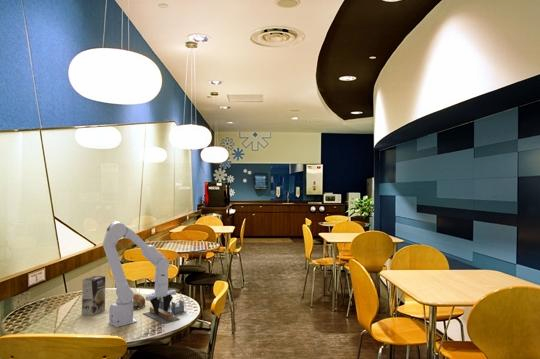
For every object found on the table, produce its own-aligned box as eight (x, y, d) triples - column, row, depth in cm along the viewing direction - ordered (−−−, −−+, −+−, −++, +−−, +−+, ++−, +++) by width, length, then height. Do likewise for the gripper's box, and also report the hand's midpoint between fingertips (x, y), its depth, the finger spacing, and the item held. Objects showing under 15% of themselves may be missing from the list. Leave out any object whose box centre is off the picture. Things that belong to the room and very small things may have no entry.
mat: (163, 324, 174) (163, 323, 174) (143, 314, 187) (143, 313, 187) (179, 319, 180) (179, 318, 180) (158, 310, 192) (158, 309, 192)
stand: (175, 315, 185) (175, 303, 185) (156, 307, 197) (156, 296, 197) (186, 312, 189) (186, 301, 190) (166, 304, 201) (166, 293, 201)
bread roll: (146, 312, 201) (149, 295, 204) (139, 309, 192) (142, 292, 195) (127, 311, 202) (131, 295, 205) (119, 308, 193) (122, 291, 196)
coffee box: (93, 315, 184) (94, 280, 184) (81, 314, 185) (81, 279, 186) (105, 309, 193) (106, 275, 193) (93, 308, 194) (94, 275, 195)
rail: (168, 320, 177) (168, 315, 177) (149, 312, 188) (149, 307, 188) (172, 319, 179) (172, 314, 179) (154, 311, 190) (154, 306, 190)
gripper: (170, 279, 191) (170, 307, 191) (142, 284, 181) (142, 314, 181) (178, 281, 187) (178, 311, 186) (150, 287, 176) (149, 318, 176)
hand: (161, 313), depth 183 cm, fingers open, 4 cm apart
